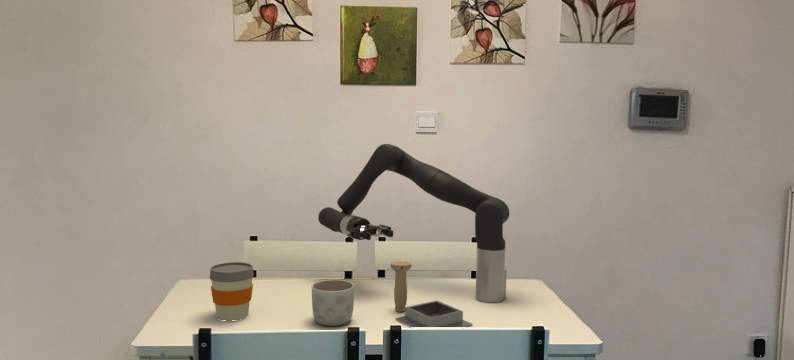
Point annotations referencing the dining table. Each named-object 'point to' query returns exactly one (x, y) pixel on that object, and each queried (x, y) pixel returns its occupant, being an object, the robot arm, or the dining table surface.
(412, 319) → the grey square tray
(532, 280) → the dining table surface
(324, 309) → the planter
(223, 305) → the reusable coffee cup
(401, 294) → the handle
